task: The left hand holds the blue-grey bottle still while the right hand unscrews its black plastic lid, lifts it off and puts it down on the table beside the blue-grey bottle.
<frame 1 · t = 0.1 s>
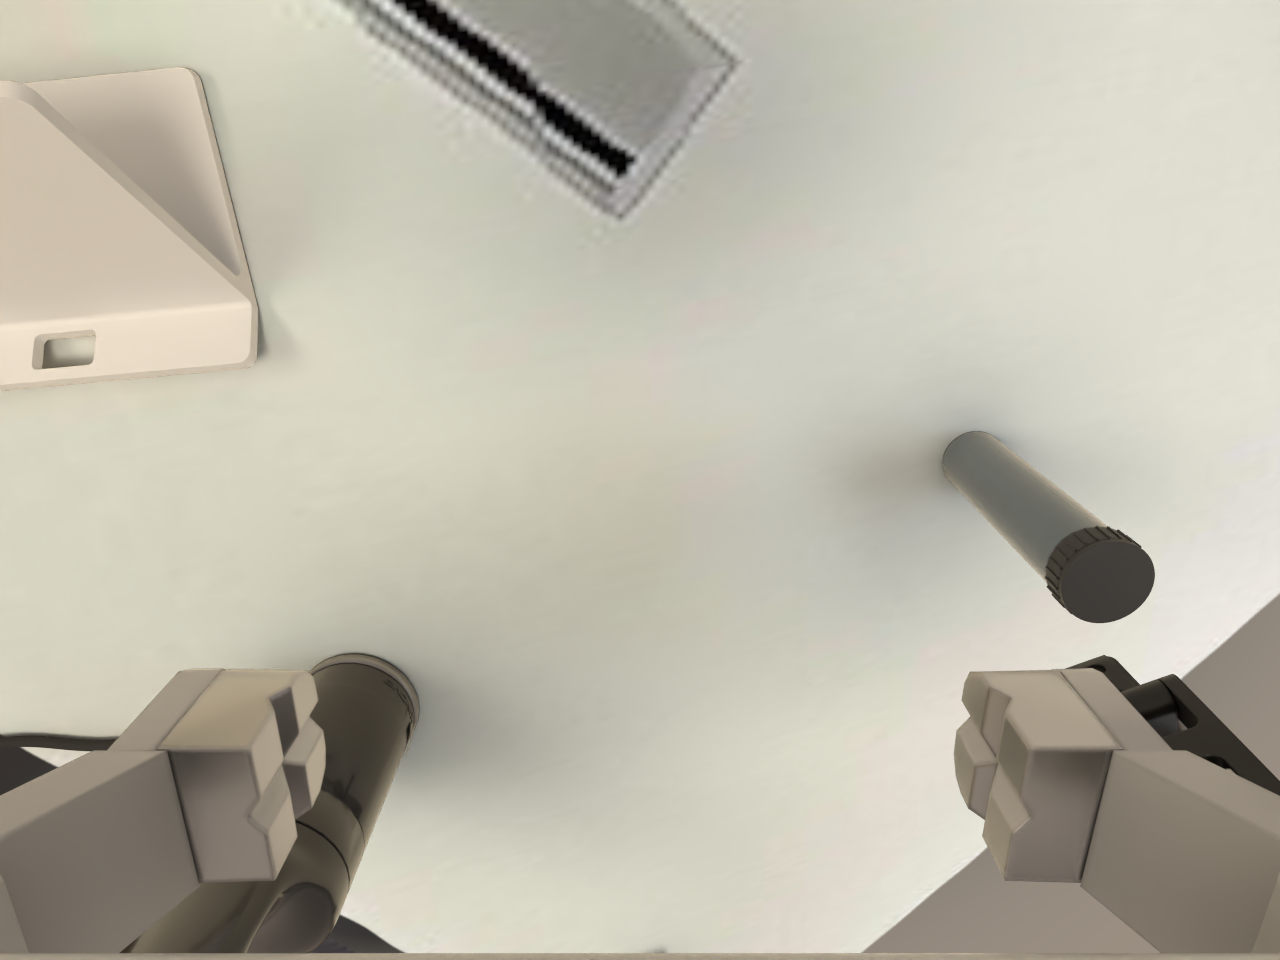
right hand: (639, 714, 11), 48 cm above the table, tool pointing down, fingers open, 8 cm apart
tablet stand: (49, 240, 55), on the table
lid: (1104, 580, 43), point 18 cm above the table, screwed on, not yet turned
blue-grey bottle: (972, 459, 60), on the table
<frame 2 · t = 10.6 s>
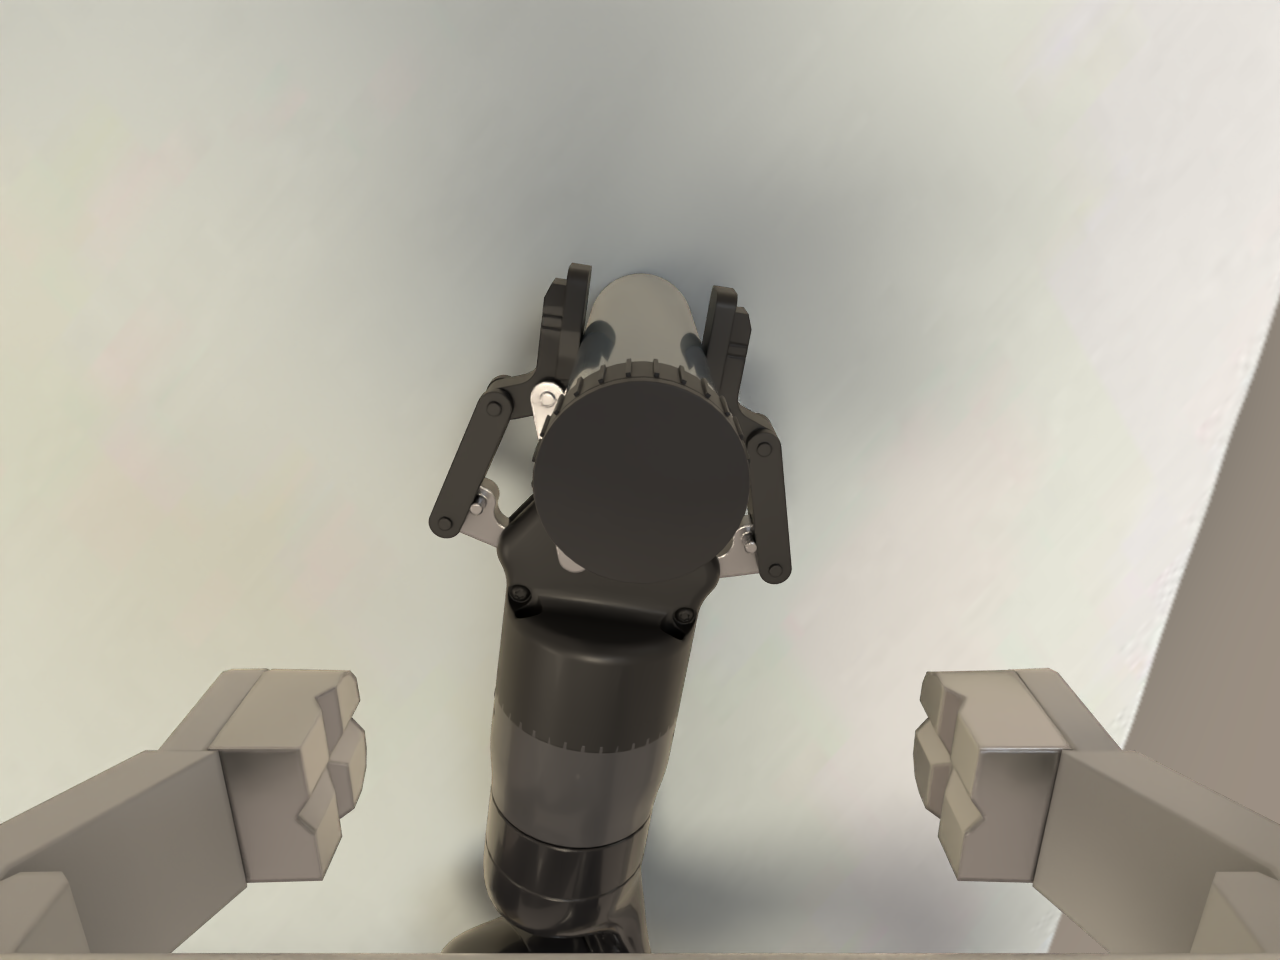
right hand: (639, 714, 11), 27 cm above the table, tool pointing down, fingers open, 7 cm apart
left hand: (652, 280, 29), fingers closed on blue-grey bottle, 4 cm apart
lid: (641, 481, 18), point 18 cm above the table, screwed on, not yet turned
blue-grey bottle: (640, 325, 35), on the table, touching left hand
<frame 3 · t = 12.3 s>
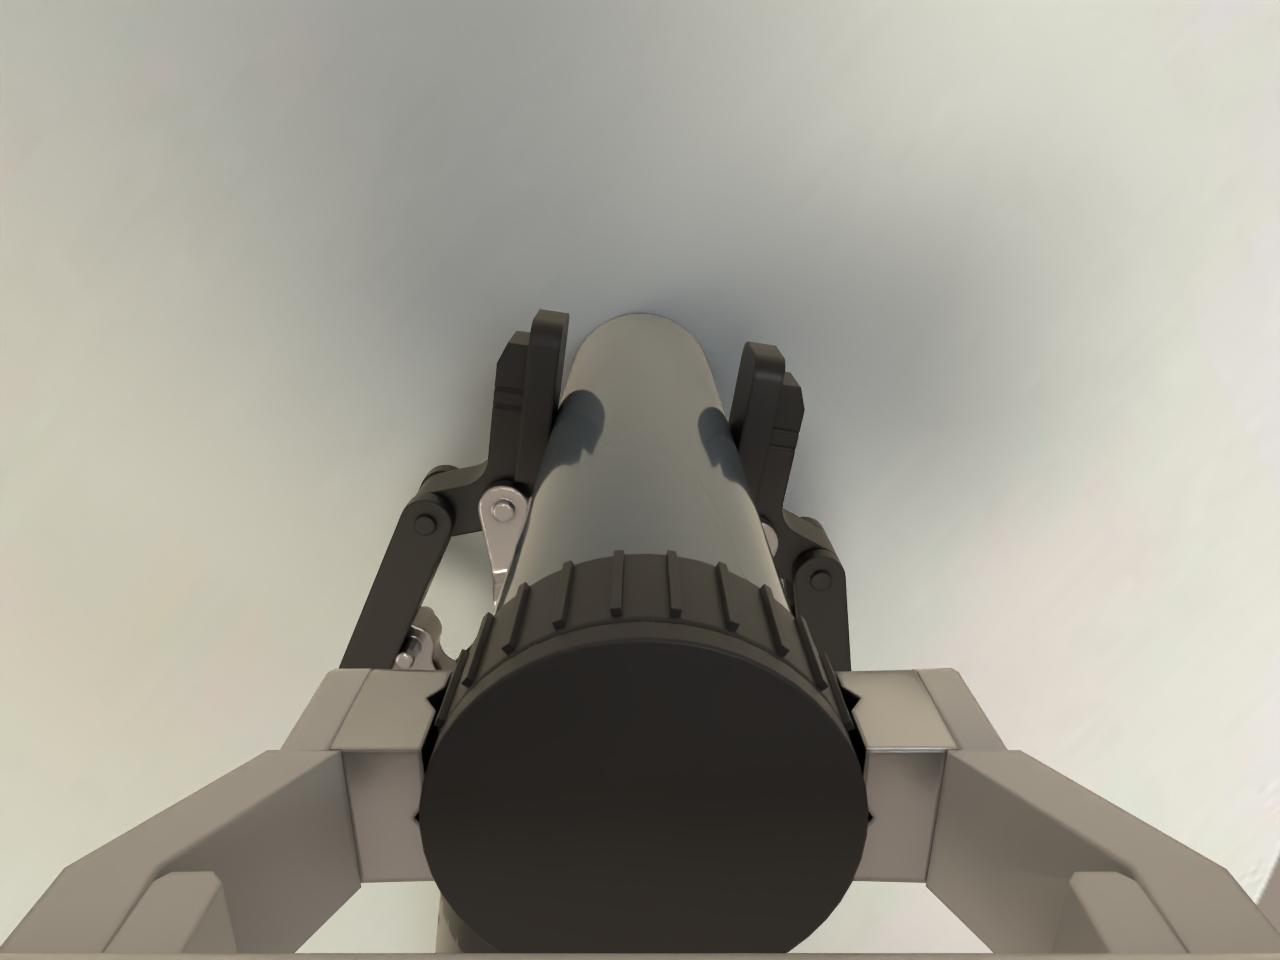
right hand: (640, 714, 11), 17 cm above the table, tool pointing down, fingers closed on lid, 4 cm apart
lid: (643, 809, 9), point 18 cm above the table, screwed on, not yet turned, touching right hand
blue-grey bottle: (640, 383, 26), on the table, touching left hand
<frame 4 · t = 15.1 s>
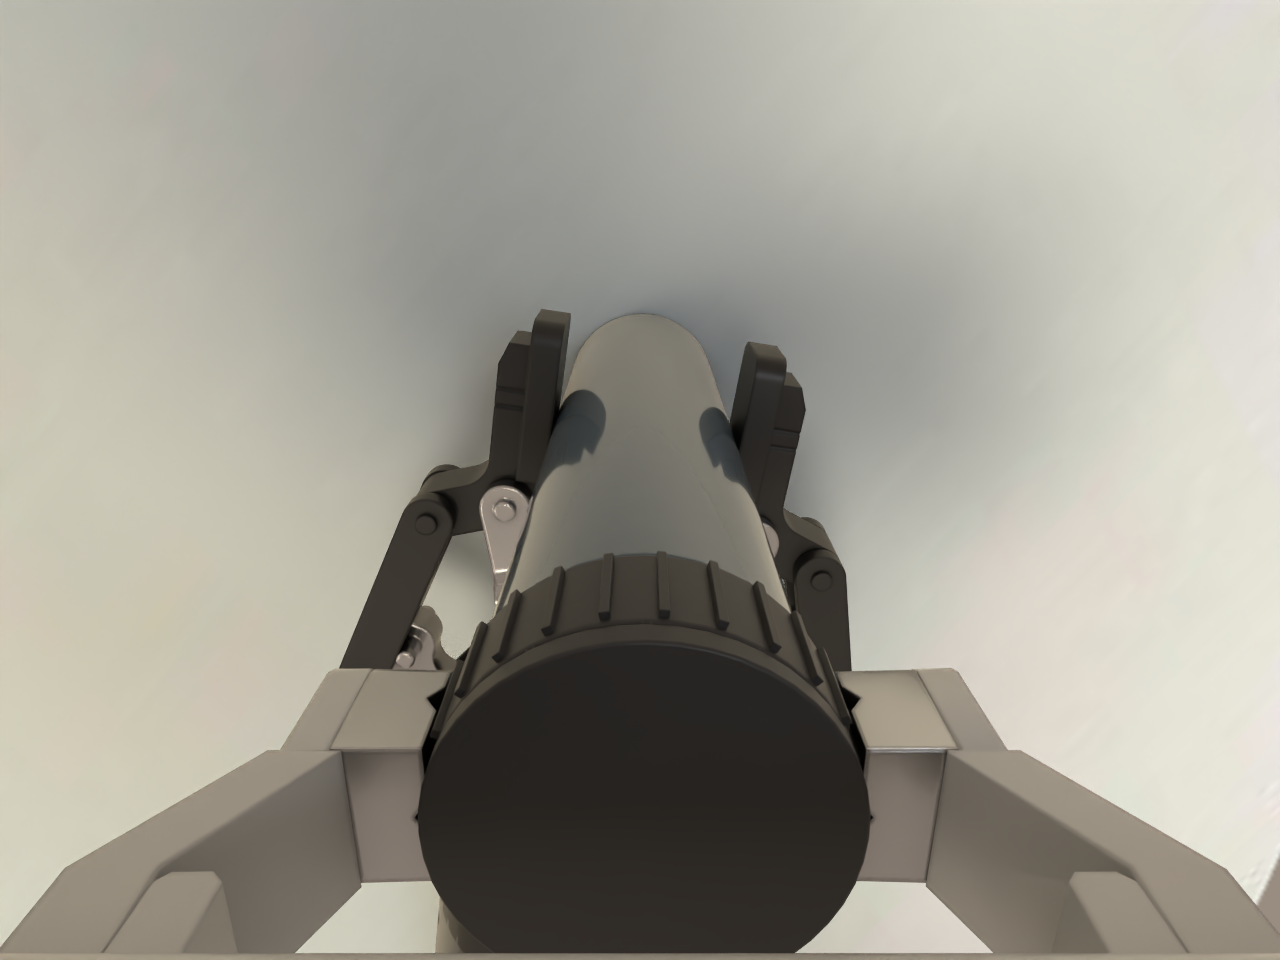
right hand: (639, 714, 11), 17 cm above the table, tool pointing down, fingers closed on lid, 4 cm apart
lid: (643, 813, 9), point 18 cm above the table, turned 61° so far, risen 0.1 cm, still on its thread, touching right hand
blue-grey bottle: (641, 383, 26), on the table, touching left hand
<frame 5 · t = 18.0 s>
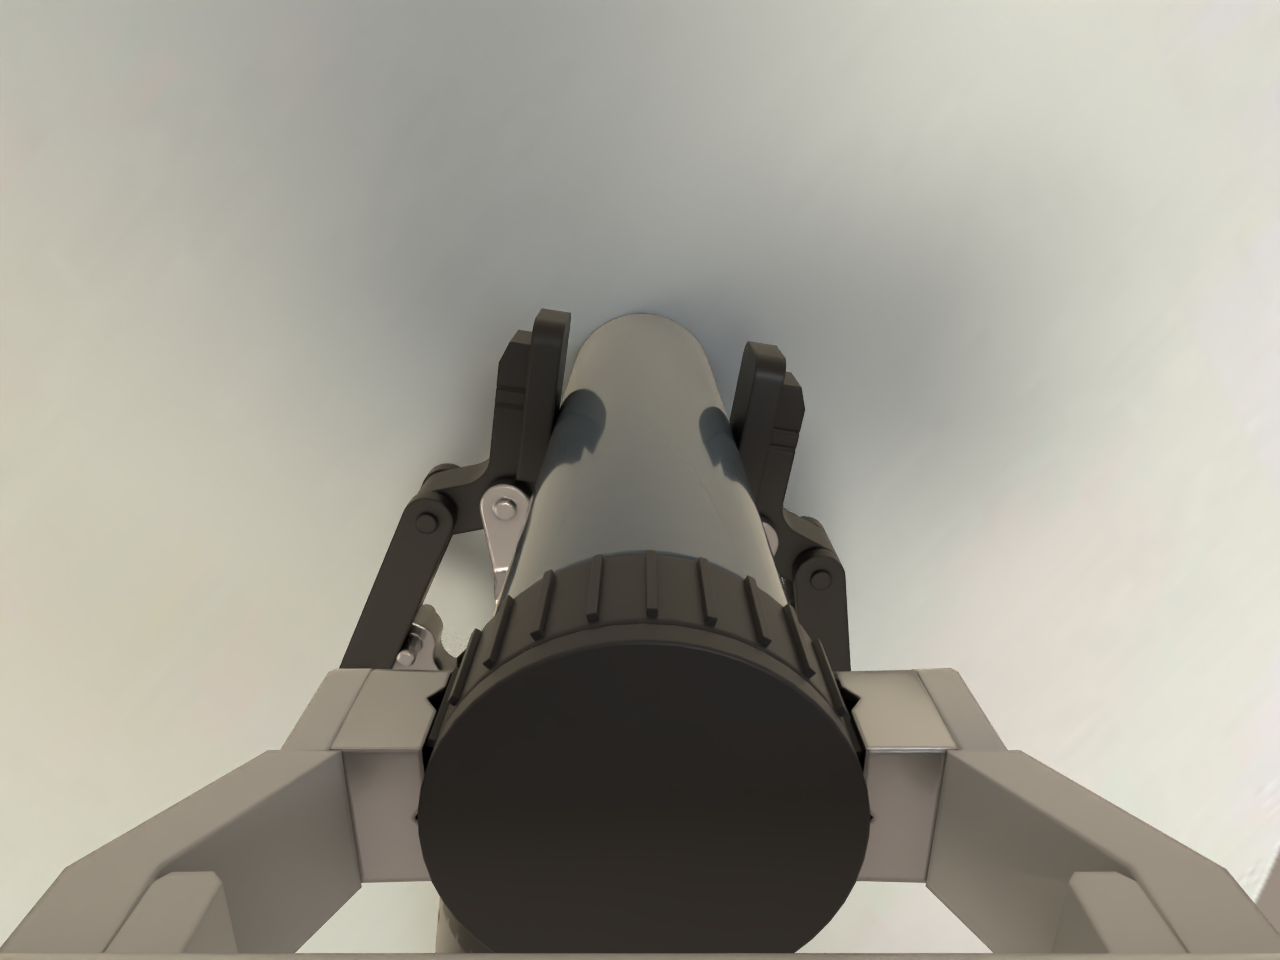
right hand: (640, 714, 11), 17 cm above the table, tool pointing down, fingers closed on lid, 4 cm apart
lid: (643, 812, 9), point 18 cm above the table, turned 121° so far, risen 0.1 cm, still on its thread, touching right hand
blue-grey bottle: (641, 382, 26), on the table, touching left hand
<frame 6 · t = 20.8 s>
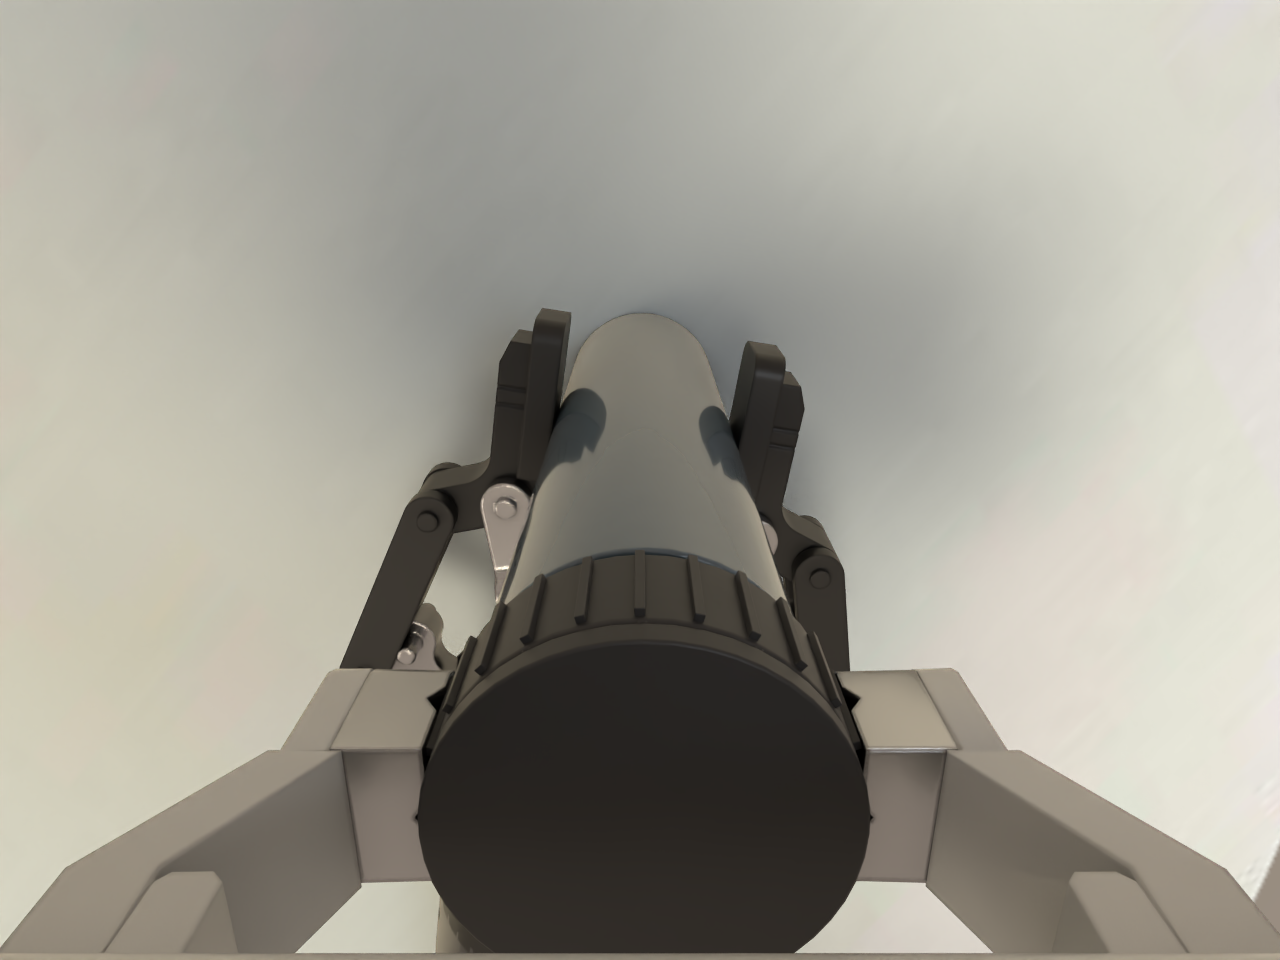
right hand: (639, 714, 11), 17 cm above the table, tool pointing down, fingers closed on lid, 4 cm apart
lid: (643, 812, 9), point 19 cm above the table, turned 182° so far, risen 0.2 cm, still on its thread, touching right hand
blue-grey bottle: (641, 382, 26), on the table, touching left hand
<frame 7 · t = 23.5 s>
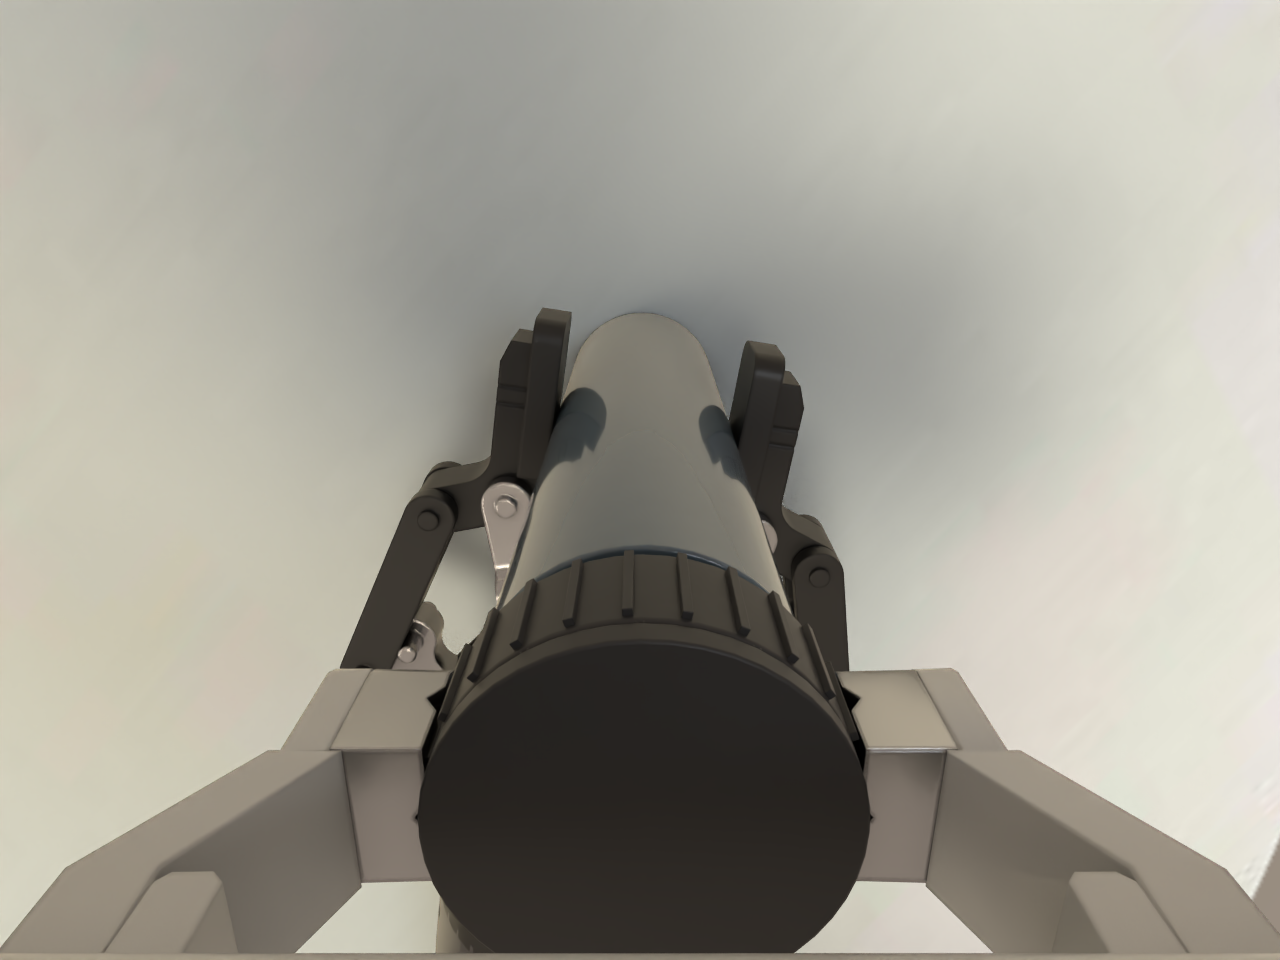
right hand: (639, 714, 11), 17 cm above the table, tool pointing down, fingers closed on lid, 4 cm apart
lid: (643, 812, 9), point 19 cm above the table, turned 242° so far, risen 0.3 cm, still on its thread, touching right hand
blue-grey bottle: (641, 381, 26), on the table, touching left hand
when the right hand's fingers open (2 cm above the table, at t = 33.1 s): lid drops 2 cm, point 2 cm above the table.
when the left hand's fingers open (6 cm above the table, at t = 34.2 s): blue-grey bottle stays where it is, on the table.
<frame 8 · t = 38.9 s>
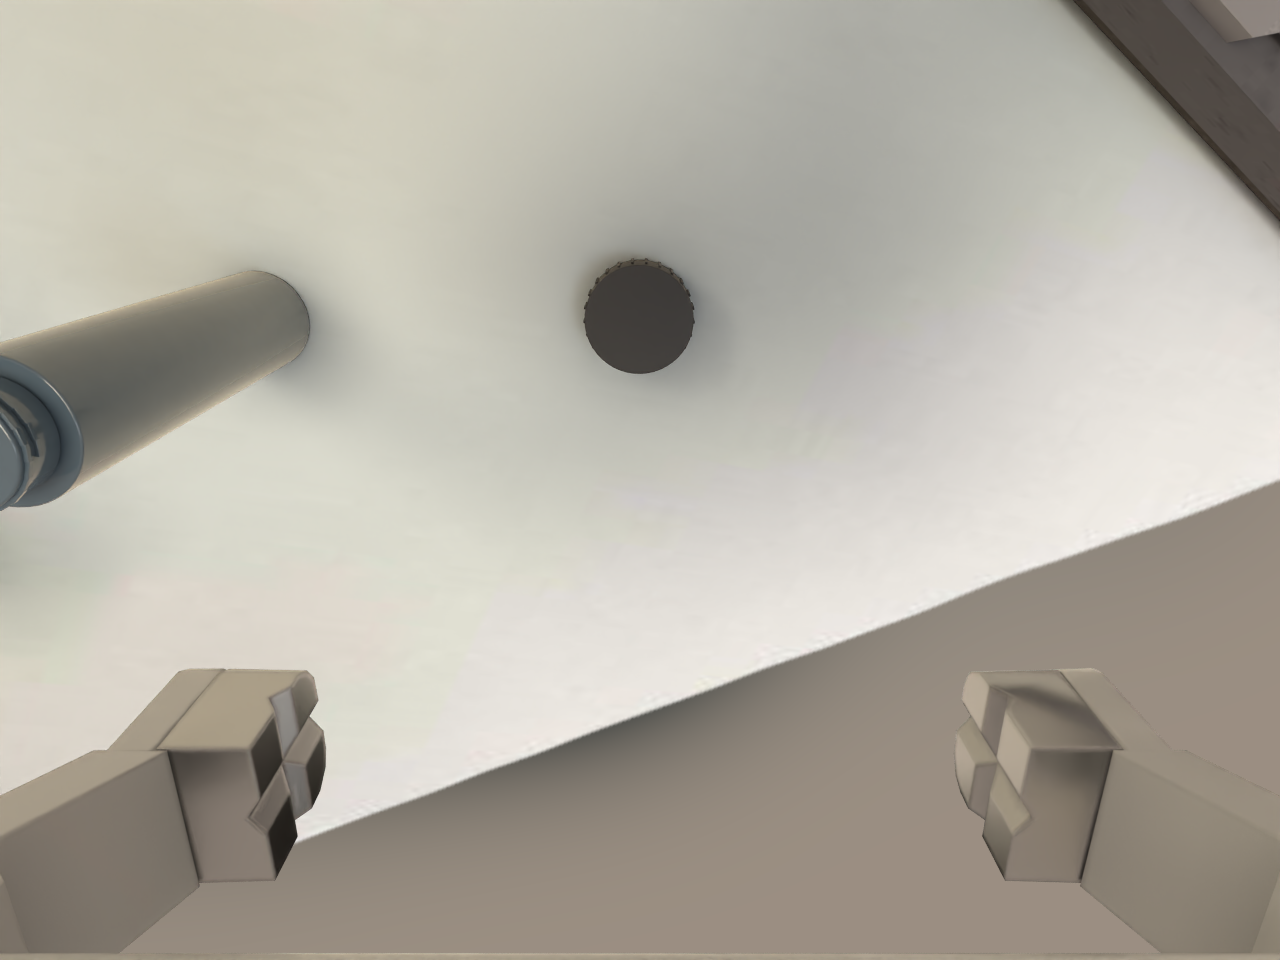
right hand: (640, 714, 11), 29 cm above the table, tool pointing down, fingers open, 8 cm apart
lid: (639, 319, 36), point 2 cm above the table, off its thread
blue-grey bottle: (261, 319, 38), on the table
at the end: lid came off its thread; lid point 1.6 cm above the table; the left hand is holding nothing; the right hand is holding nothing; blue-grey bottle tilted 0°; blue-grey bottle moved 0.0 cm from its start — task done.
